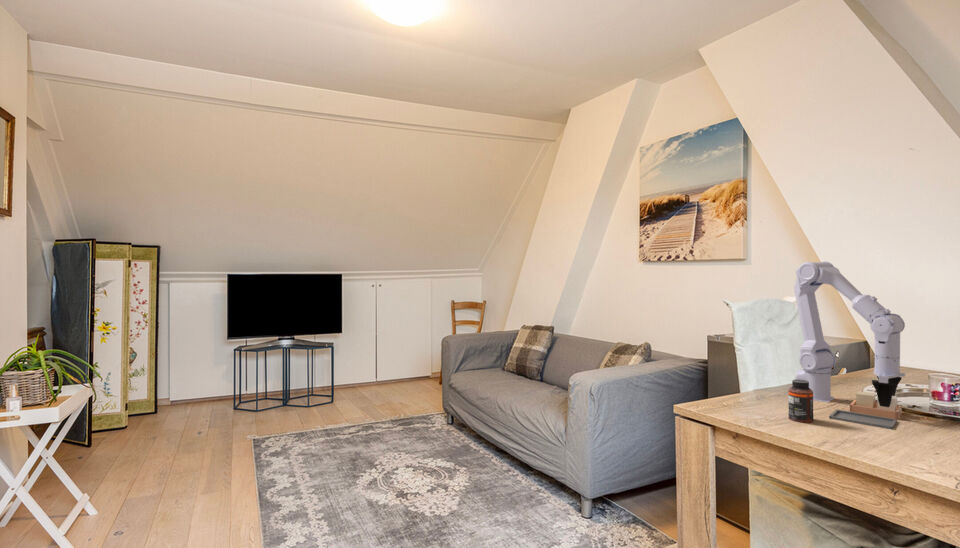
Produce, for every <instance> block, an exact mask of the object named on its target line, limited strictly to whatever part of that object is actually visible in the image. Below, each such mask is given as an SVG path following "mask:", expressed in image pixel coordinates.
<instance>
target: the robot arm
mask: <svg viewBox="0 0 960 548" xmlns="http://www.w3.org/2000/svg"><path fill="white" fill-rule="evenodd" d="M795 275H796V278H795V283H794V286H793V287H794V288H793V289H794V297H795V301H796V305H797V306H796V307H797V312H798V316H799V321H800V327H801V333H802V336H803V337H802V338H803V341H804V342H803V343H802V345H801V346H800V348H799V353H800V355H799V358H798V359H799V360H798V362H799V365H800V367H801V368H802V369H796V372H795V378H794V380H796V379H800V380H806V381H808V382H809V388H810V389H811V390H812V391H813V401H815V402H823V403H831V401H833V400H834V399H835V396H831V395H832V394H831V390H832V388H831V384H832V383H831V381H832V380H831V379H832V373H831V372H832V369H833V367H835V366H836V363H837V359H836V358H837V357H836V355H835V354H834V353H833V352H832V349H831V345H830V343H828V342H826V340H825V339H824V333H823V328H822V323H821V318H820V313H819V308H818V302H817V297H816V291H817V290H818V289H819V288H820V287H821V286H822V285H824V284H825V285H830V286H831V287H832V288H833V289H835V290H836V291H838V292H839V293H840V294H842V295H843V296H844V297H845V298H846V299H848V300H849V301H850V302H852V303H851V306H852V309H853V310H854V311H855V312H856V313H857V314H859V315H860V316H861V317H862V318H863V319H864V320H865V321H866V322H868V323H869V327H870V330H871V331H872V332H873V334H874V369H873V374H874V375H875V376H876V378H877V379H872V380H871V385H872V386H873V388H874V390H875V392H876V396H877V397H878V401H879V404H880V406H883V407H889V406H890V404H891V399H892V396H896V392H897V388H898V385H900V382H901V380H902V378H903V377H904V378H905V376H906V373H904V372H901V369H900V368H901V333H902V332H903V331H904V329H905V327H906V325H905V324H906V323H905V321H904V319H903V318H902V317H901V315H900V314H897V313H891V310H890V309H889V308H885V307H884V306H883V305H882V304H881V303H880V302H879V301H878V298H877V297H875V296H871V295H870V294H863V293H861V291H860V290H859V289H857V288H856V287H855V286H854V285H853V283H852V282H850V281H849V280H848V279H847V278H846V277H845V276H844V275H843V274H842V273H841V271H840V270H839V268H837V267H836V266H835V265H833V264H832V263H831V262H829V261H819V262H818V261H817V262H816V261H815V262H813V261H812V262H811V261H805V262H803V263H801V264H800V265H799V267H798V268H797V269H796V270H795Z"/></svg>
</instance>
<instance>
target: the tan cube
mask: <svg viewBox="0 0 960 548" xmlns="http://www.w3.org/2000/svg"><path fill="white" fill-rule="evenodd" d="M876 396H877V392H876V393H874V392H867V391H862V390H860V391H859V390H858V391H857V392H856V393H855V399H856V405H857V406H864V407H870V408H875V402H876Z"/></svg>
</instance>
